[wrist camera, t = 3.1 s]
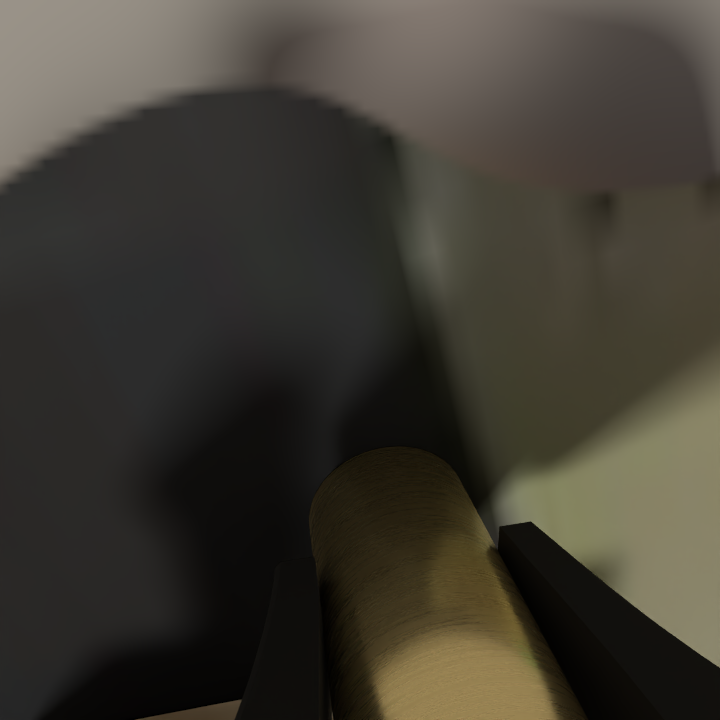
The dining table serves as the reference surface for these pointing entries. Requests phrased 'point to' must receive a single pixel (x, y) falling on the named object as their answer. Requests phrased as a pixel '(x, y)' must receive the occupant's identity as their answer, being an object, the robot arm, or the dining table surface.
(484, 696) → the brass pin
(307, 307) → the dining table surface
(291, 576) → the robot arm
